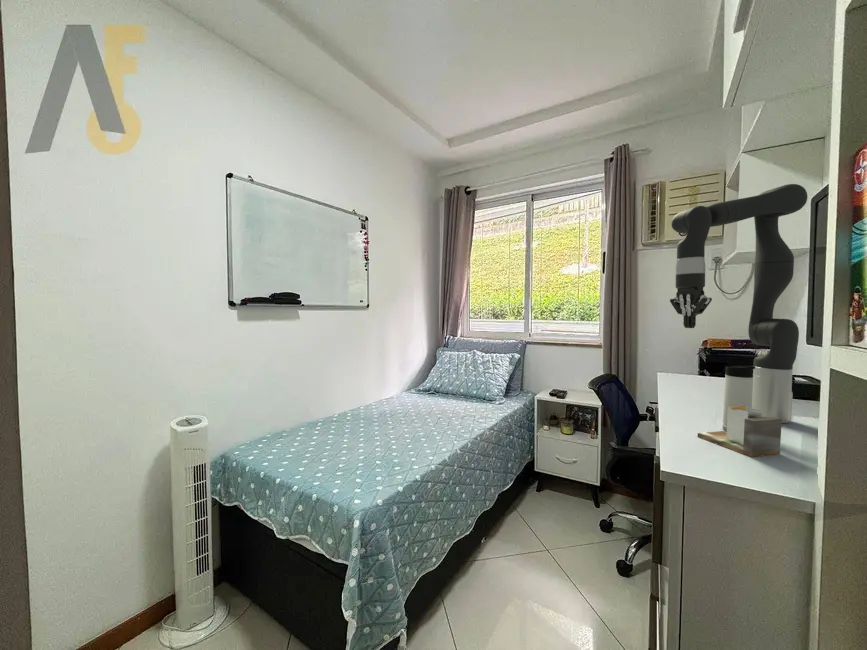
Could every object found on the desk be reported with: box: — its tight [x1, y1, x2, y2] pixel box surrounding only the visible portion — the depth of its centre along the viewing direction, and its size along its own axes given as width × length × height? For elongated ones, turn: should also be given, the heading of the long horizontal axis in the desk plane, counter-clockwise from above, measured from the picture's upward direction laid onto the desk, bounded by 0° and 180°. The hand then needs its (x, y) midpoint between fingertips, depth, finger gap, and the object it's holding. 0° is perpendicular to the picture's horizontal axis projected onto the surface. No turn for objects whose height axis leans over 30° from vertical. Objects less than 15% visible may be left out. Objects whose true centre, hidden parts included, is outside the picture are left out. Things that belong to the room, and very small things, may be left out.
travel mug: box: [722, 365, 755, 432], centre depth 103 cm, size 6×7×20 cm
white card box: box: [726, 406, 762, 445], centre depth 91 cm, size 5×6×10 cm
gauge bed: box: [696, 416, 783, 458], centre depth 93 cm, size 14×9×9 cm, turn 12°
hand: (689, 327), depth 111 cm, fingers closed
